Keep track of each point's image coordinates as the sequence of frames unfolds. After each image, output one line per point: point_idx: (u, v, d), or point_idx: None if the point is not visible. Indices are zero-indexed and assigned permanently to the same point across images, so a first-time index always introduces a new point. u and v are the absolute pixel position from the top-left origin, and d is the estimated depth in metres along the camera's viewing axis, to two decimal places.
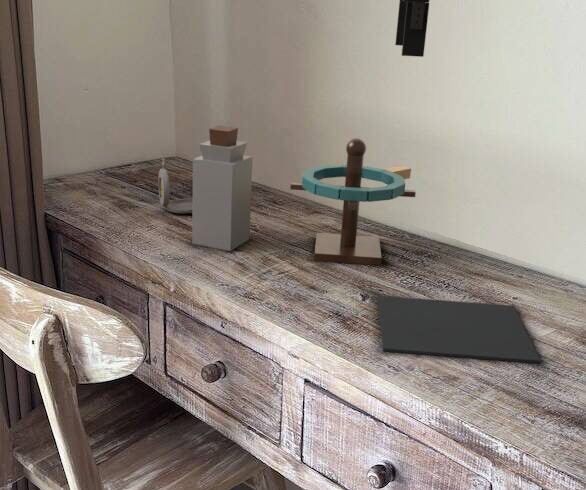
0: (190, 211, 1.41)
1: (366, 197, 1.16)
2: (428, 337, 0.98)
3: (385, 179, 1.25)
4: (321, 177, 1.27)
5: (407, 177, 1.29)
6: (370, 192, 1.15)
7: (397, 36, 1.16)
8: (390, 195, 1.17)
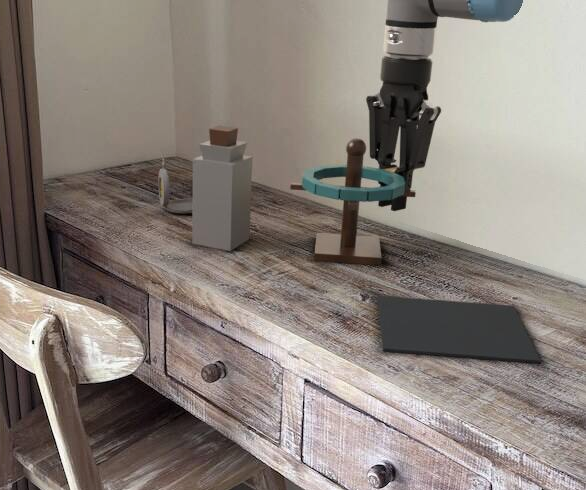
0: (190, 211, 1.41)
1: (366, 197, 1.16)
2: (428, 337, 0.98)
3: (385, 179, 1.25)
4: (321, 177, 1.27)
5: None
6: (370, 192, 1.15)
7: None
8: (390, 195, 1.17)
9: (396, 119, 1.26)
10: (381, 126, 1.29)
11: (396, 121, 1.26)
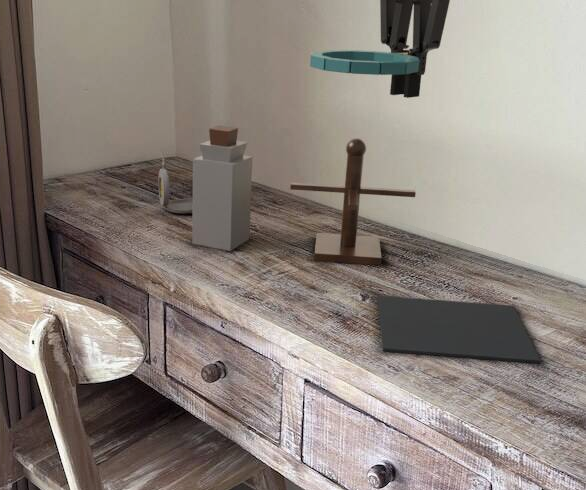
0: (190, 211, 1.41)
1: (379, 69, 1.09)
2: (428, 337, 0.98)
3: (397, 61, 1.19)
4: None
5: None
6: (382, 64, 1.09)
7: (395, 87, 1.23)
8: (404, 69, 1.10)
9: None
10: (393, 9, 1.22)
11: (409, 0, 1.20)
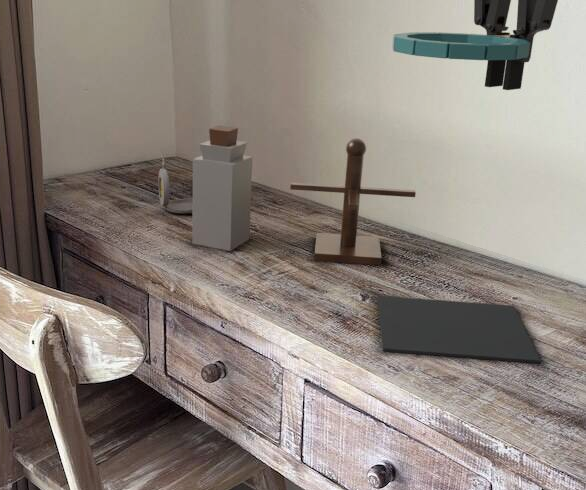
0: (190, 211, 1.41)
1: (484, 54, 0.88)
2: (428, 337, 0.98)
3: None
4: None
5: None
6: (489, 47, 0.87)
7: (491, 77, 1.02)
8: (514, 53, 0.89)
9: None
10: None
11: None
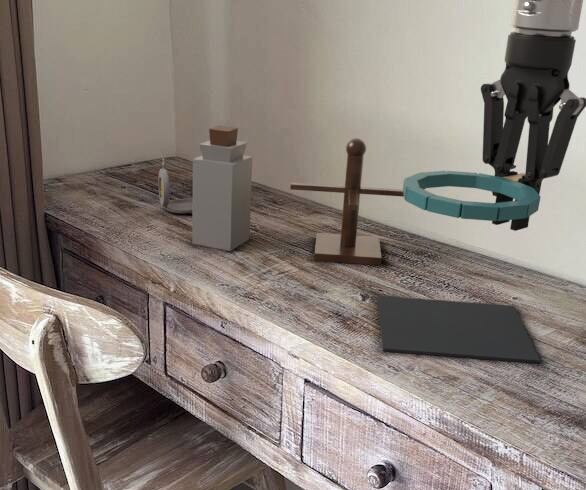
0: (190, 211, 1.41)
1: (496, 215, 0.88)
2: (428, 337, 0.98)
3: (507, 190, 0.98)
4: (424, 187, 0.99)
5: None
6: (501, 209, 0.88)
7: None
8: (525, 213, 0.90)
9: (521, 114, 0.99)
10: (499, 122, 1.02)
11: (521, 116, 0.99)
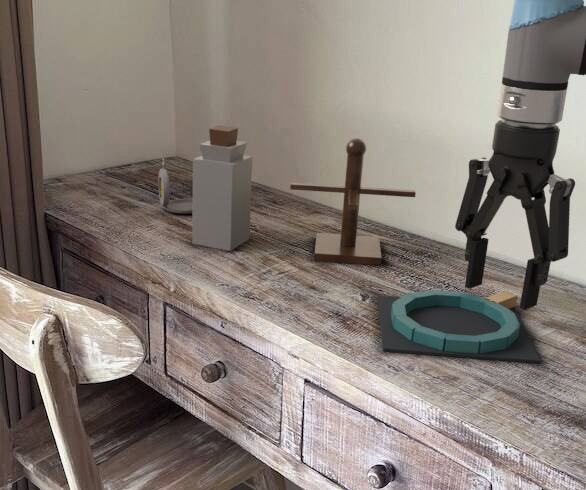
0: (190, 211, 1.41)
1: (477, 348, 0.94)
2: None
3: (489, 312, 1.04)
4: (411, 308, 1.05)
5: (513, 306, 1.08)
6: (482, 343, 0.94)
7: (471, 280, 1.08)
8: (505, 344, 0.96)
9: (502, 194, 1.03)
10: (478, 196, 1.06)
11: (502, 196, 1.03)
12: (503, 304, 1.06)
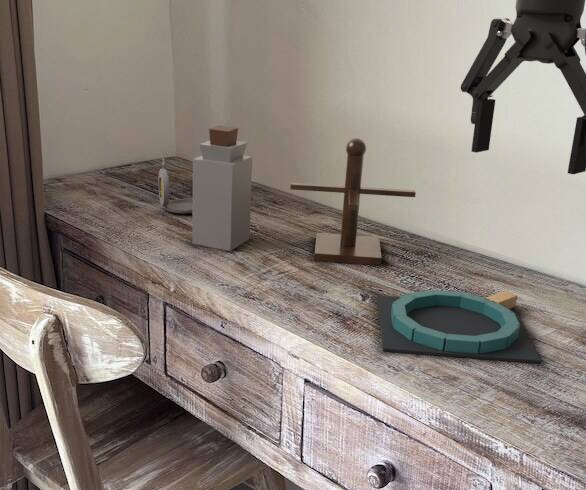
0: (190, 211, 1.41)
1: (477, 348, 0.94)
2: None
3: (489, 312, 1.04)
4: (411, 308, 1.05)
5: (513, 306, 1.08)
6: (482, 343, 0.94)
7: (477, 143, 1.04)
8: (505, 344, 0.96)
9: (520, 58, 0.98)
10: (491, 59, 1.01)
11: (519, 60, 0.99)
12: (503, 304, 1.06)
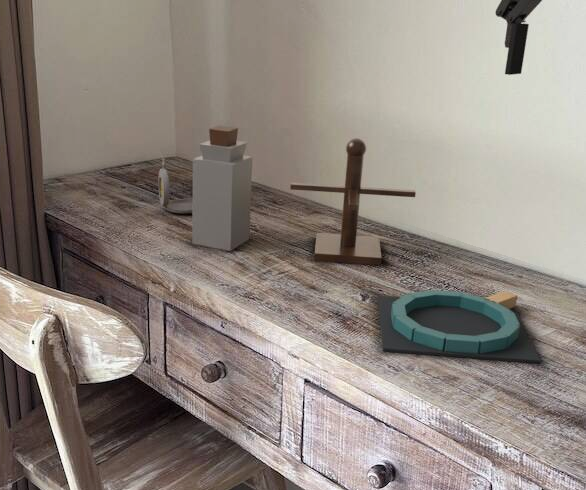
0: (190, 211, 1.41)
1: (477, 348, 0.94)
2: None
3: (489, 312, 1.04)
4: (411, 308, 1.05)
5: (513, 306, 1.08)
6: (482, 343, 0.94)
7: (511, 65, 1.09)
8: (505, 344, 0.96)
9: None
10: None
11: None
12: (503, 304, 1.06)
